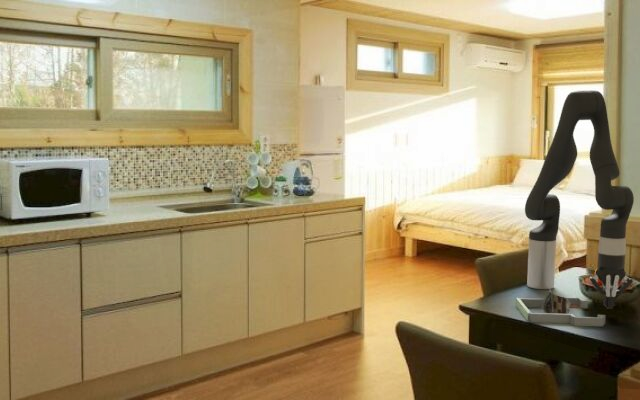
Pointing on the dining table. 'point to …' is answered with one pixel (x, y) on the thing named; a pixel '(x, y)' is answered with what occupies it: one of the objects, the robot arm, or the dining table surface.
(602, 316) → the track
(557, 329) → the dining table surface
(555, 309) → the marbled cake slice
